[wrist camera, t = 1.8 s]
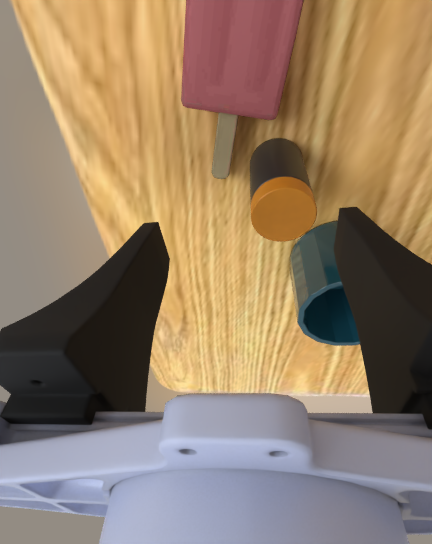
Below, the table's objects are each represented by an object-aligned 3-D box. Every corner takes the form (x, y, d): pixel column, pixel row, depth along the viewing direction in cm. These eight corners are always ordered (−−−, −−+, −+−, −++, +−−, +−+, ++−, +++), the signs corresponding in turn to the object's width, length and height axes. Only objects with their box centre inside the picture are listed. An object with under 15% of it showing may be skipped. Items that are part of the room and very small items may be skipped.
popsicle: (177, 178, 21) (194, -252, 10) (181, 166, 22) (199, -232, 11) (260, 189, 21) (359, -220, 11) (259, 177, 22) (348, -204, 12)
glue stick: (304, 135, 20) (320, 185, 16) (300, 185, 22) (313, 240, 18) (248, 140, 20) (249, 190, 16) (250, 188, 23) (252, 243, 19)
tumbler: (396, 217, 24) (429, 276, 19) (373, 286, 29) (395, 345, 25) (292, 222, 25) (302, 279, 20) (287, 289, 30) (295, 346, 25)
